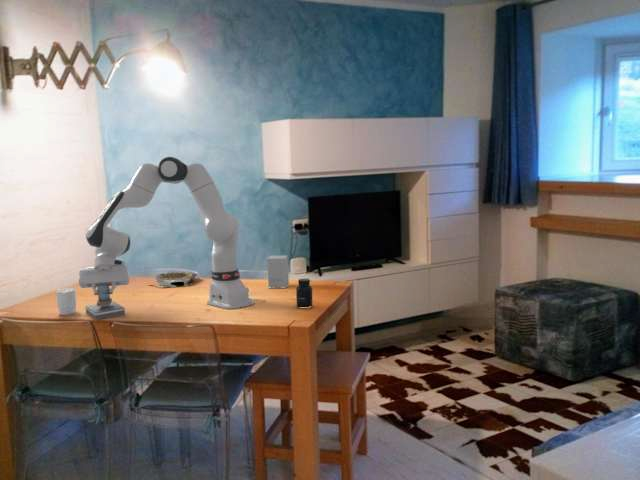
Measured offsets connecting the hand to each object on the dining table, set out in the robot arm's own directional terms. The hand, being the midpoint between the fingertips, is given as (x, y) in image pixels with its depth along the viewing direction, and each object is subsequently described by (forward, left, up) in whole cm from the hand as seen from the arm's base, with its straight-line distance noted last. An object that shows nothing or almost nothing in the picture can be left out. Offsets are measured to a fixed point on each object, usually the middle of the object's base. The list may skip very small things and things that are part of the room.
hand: (103, 293), depth 250 cm
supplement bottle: (-48, -69, -9) cm, 85 cm away
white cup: (+14, +12, -9) cm, 20 cm away
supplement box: (-7, -82, -9) cm, 83 cm away
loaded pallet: (+1, 0, -4) cm, 4 cm away
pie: (+39, -48, -10) cm, 63 cm away
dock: (+1, 0, -9) cm, 9 cm away
